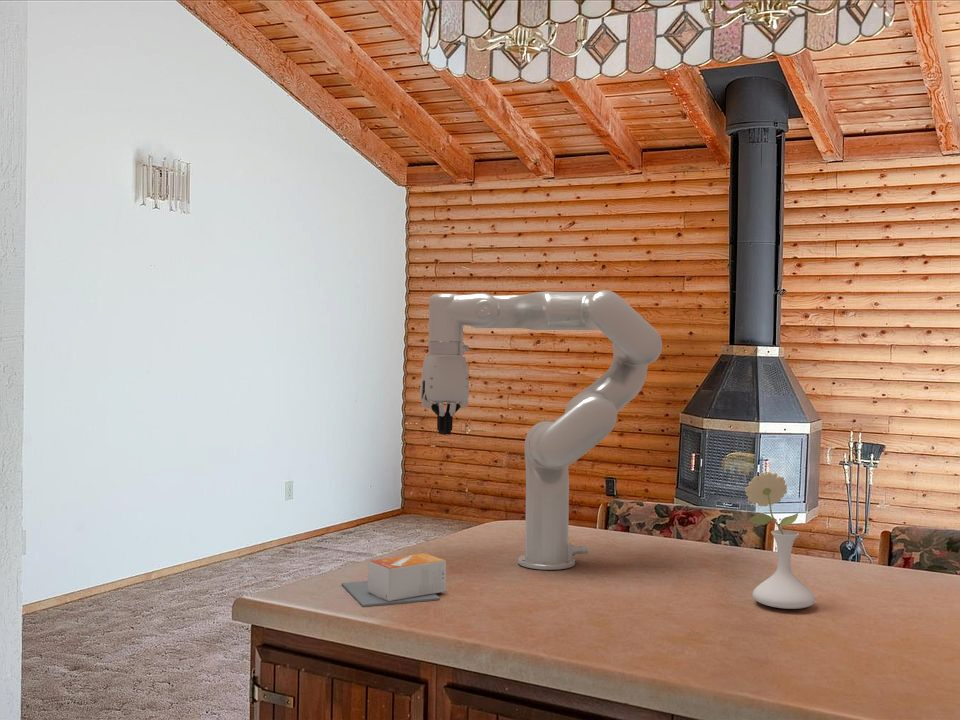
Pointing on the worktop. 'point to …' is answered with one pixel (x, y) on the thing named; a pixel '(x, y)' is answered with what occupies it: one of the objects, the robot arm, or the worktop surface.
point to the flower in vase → (783, 583)
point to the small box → (406, 576)
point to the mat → (367, 599)
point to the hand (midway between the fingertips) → (444, 434)
